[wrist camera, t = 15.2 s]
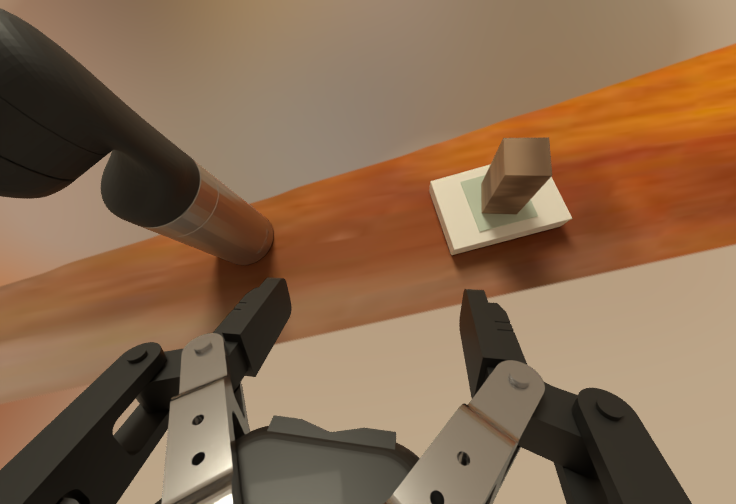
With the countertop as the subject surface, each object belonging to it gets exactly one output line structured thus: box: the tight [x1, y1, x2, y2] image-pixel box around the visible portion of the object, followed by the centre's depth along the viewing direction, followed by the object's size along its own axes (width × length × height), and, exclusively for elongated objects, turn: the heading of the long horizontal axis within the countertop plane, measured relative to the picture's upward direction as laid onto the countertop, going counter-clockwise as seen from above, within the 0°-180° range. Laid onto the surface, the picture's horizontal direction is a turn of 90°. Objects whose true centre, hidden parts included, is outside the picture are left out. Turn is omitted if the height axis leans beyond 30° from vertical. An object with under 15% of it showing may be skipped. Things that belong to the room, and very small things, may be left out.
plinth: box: [429, 165, 572, 255], centre depth 41 cm, size 16×11×3 cm
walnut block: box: [481, 138, 552, 214], centre depth 35 cm, size 5×5×10 cm
